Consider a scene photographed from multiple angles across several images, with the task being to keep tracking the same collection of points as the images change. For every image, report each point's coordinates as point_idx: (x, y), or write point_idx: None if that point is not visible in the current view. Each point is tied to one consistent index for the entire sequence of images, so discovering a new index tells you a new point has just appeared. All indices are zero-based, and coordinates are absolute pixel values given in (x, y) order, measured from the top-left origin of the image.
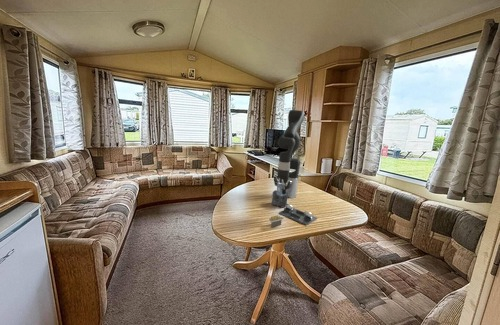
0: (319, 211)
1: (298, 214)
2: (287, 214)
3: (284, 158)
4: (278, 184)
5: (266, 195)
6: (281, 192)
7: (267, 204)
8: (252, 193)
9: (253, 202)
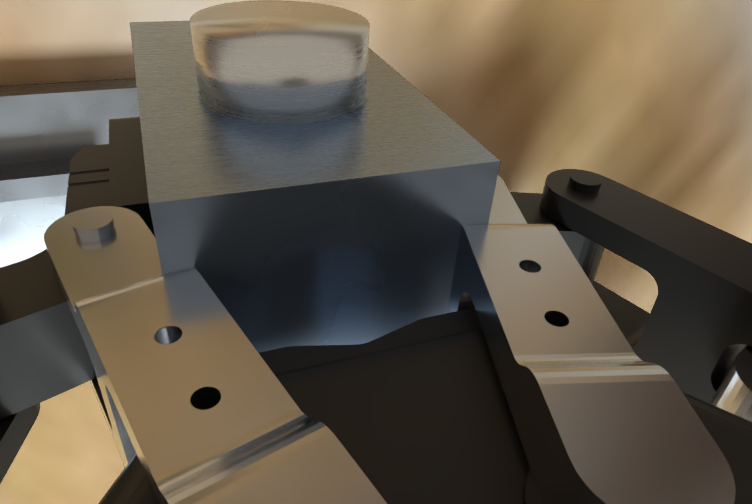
0: (29, 498)
1: (37, 249)
2: (117, 116)
3: None
4: (447, 196)
5: (611, 286)
6: (137, 62)
7: (504, 144)
8: (737, 201)
9: (653, 36)
